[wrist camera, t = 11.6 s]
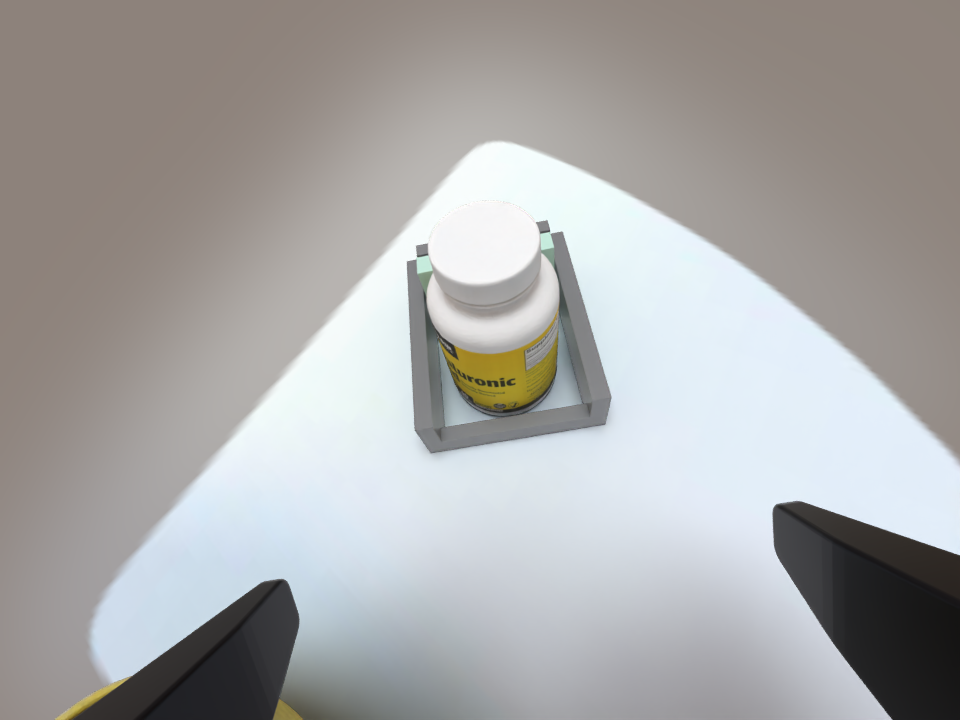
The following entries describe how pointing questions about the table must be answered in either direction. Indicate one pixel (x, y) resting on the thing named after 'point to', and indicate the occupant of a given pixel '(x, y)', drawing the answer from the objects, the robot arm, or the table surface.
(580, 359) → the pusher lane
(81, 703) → the flower pot
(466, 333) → the supplement bottle
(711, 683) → the table surface
